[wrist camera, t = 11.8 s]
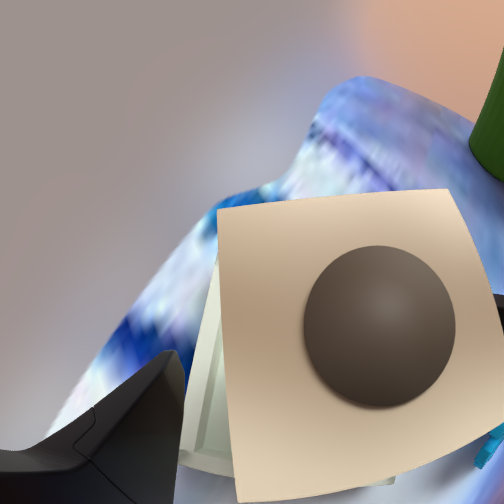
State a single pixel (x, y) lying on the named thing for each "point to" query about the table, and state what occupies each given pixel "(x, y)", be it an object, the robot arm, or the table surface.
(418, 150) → the table surface
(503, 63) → the wine bottle
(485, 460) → the gear
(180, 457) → the sage tray
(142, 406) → the robot arm
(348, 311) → the maple block
